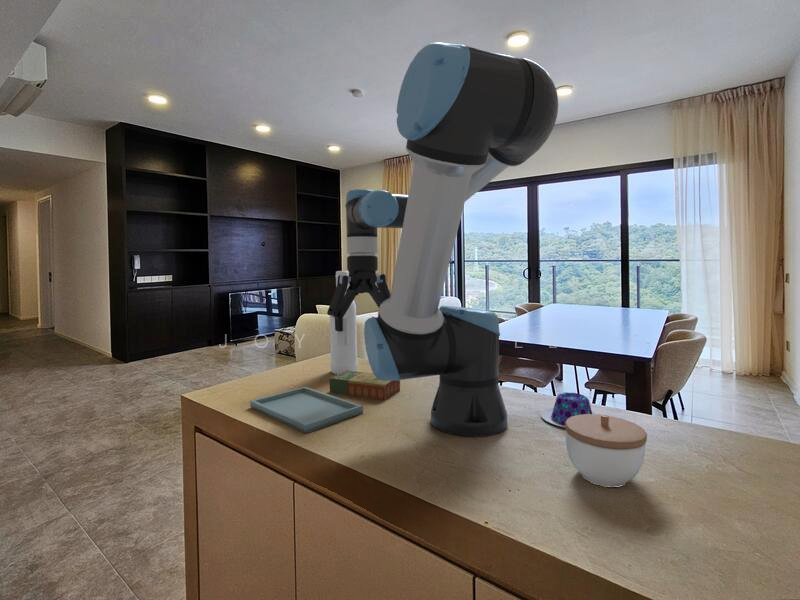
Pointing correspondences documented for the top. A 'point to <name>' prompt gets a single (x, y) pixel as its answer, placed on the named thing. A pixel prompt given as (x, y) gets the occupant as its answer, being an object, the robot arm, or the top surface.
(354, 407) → the tray
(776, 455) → the top surface
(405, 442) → the top surface
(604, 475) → the lidded jar
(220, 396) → the top surface
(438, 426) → the robot arm
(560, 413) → the pudding
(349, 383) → the carton
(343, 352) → the bottle
